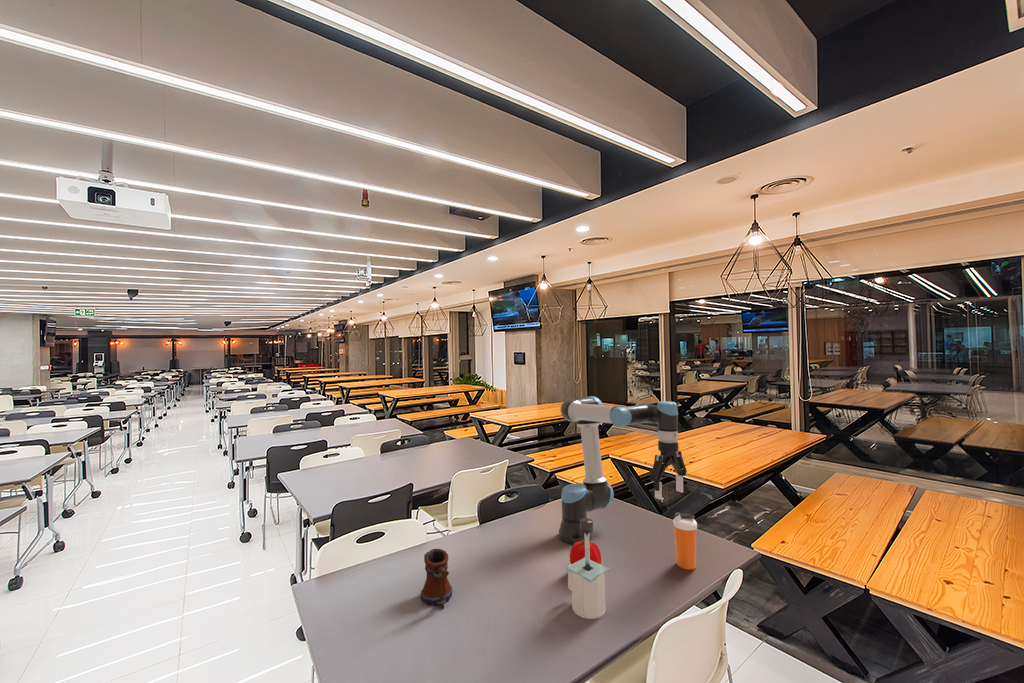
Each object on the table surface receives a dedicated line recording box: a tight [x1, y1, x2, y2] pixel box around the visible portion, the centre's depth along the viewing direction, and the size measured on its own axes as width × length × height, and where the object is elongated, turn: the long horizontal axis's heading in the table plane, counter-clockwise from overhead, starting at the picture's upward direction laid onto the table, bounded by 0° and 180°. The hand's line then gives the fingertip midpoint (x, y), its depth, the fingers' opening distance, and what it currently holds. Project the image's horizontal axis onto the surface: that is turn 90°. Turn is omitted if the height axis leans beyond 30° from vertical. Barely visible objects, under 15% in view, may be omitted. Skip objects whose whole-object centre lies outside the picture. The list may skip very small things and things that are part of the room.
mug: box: [420, 548, 453, 609], centre depth 141 cm, size 18×12×15 cm, turn 25°
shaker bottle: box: [672, 511, 698, 571], centre depth 162 cm, size 9×9×20 cm
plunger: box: [580, 517, 594, 571], centre depth 136 cm, size 8×8×18 cm
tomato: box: [569, 539, 602, 565], centre depth 156 cm, size 12×12×13 cm
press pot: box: [565, 558, 610, 620], centre depth 136 cm, size 14×11×13 cm
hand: (669, 495), depth 159 cm, fingers open, 13 cm apart
